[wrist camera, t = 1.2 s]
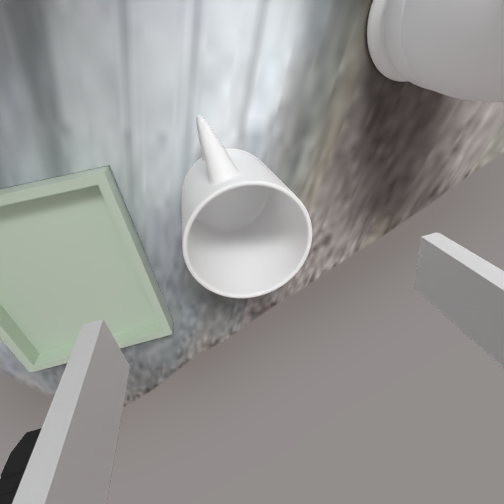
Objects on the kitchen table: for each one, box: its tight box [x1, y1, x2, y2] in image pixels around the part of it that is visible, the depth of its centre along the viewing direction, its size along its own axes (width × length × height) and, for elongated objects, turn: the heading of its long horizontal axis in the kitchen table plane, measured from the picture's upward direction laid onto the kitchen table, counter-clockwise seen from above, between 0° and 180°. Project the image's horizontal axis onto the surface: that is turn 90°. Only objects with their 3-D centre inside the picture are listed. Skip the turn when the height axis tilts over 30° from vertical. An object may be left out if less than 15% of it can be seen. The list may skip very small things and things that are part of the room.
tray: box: [0, 166, 173, 373], centre depth 29 cm, size 18×15×2 cm
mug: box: [181, 115, 312, 298], centre depth 23 cm, size 9×12×11 cm
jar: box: [367, 0, 504, 102], centre depth 19 cm, size 11×10×15 cm
